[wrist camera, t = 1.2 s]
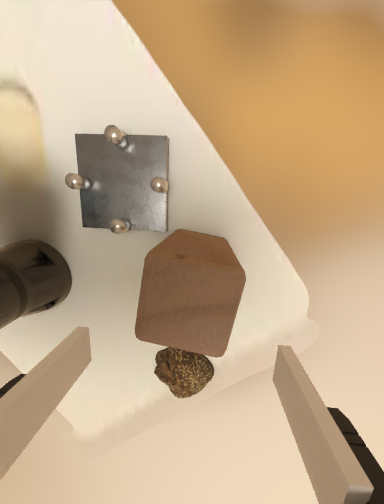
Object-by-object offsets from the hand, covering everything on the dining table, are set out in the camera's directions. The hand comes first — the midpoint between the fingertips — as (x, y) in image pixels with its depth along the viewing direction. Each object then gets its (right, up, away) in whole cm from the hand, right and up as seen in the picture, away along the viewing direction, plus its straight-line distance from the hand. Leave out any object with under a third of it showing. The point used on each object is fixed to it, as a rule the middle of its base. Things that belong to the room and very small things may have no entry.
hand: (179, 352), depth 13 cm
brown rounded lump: (-1, -19, +31) cm, 37 cm away
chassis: (-12, +19, +23) cm, 32 cm away
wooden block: (+2, +6, +25) cm, 26 cm away
